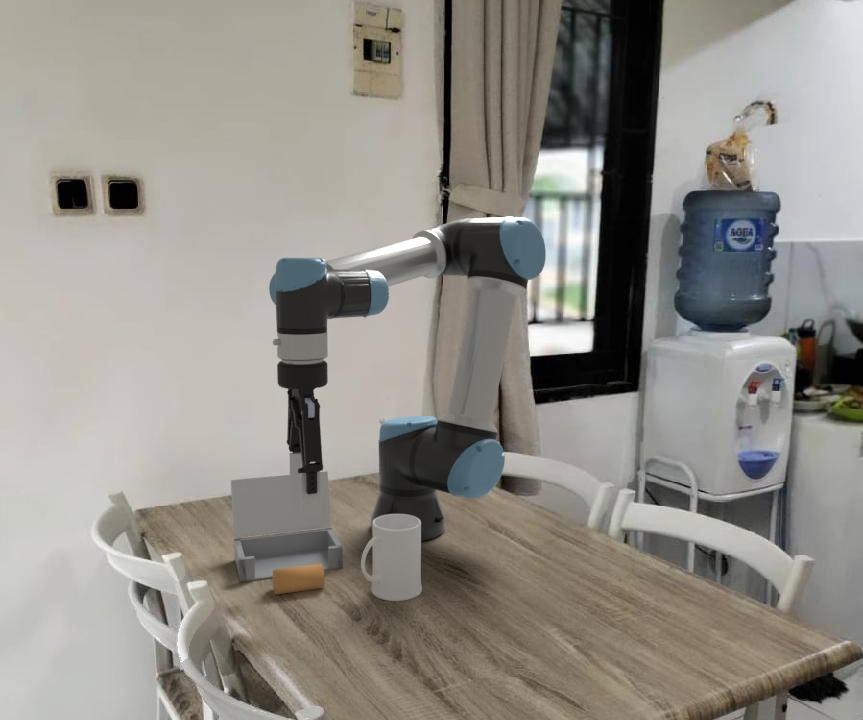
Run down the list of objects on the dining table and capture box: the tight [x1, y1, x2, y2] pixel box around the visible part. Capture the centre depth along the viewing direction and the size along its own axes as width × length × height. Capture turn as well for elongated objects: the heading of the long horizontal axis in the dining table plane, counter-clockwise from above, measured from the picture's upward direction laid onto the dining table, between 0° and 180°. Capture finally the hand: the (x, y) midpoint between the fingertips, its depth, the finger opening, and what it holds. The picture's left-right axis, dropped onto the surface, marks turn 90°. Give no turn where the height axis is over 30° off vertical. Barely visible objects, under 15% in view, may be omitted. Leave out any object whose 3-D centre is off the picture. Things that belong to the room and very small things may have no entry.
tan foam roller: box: [272, 564, 325, 595], centre depth 129 cm, size 8×4×4 cm, turn 109°
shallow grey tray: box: [233, 527, 344, 583], centre depth 139 cm, size 18×10×4 cm, turn 109°
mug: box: [360, 514, 423, 602], centre depth 127 cm, size 12×8×12 cm
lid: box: [230, 470, 332, 539], centre depth 144 cm, size 18×10×1 cm
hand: (304, 502), depth 119 cm, fingers open, 10 cm apart
